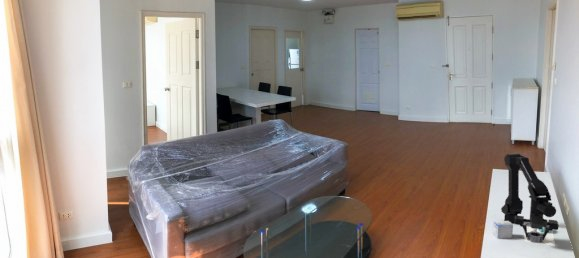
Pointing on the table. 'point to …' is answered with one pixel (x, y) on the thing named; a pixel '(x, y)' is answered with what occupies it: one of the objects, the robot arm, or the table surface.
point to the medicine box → (503, 229)
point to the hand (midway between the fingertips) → (534, 238)
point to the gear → (534, 237)
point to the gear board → (549, 237)
